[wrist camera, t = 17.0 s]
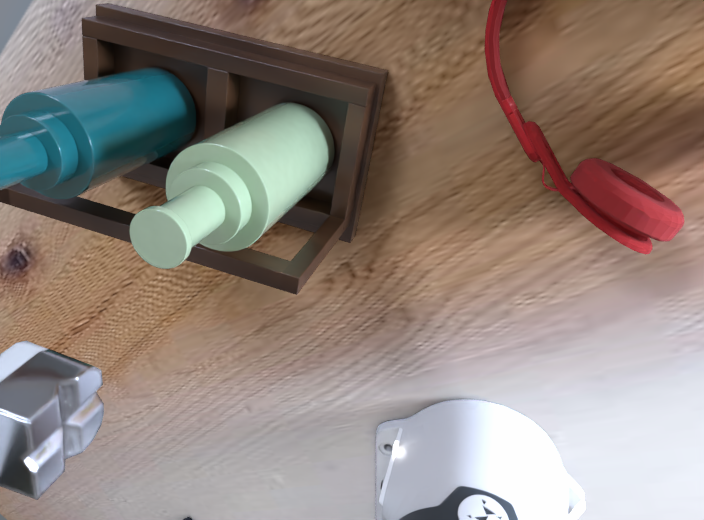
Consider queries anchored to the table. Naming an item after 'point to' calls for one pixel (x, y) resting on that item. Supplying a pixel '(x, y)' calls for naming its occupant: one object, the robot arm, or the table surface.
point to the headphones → (587, 171)
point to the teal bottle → (93, 131)
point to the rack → (227, 110)
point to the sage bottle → (235, 185)
